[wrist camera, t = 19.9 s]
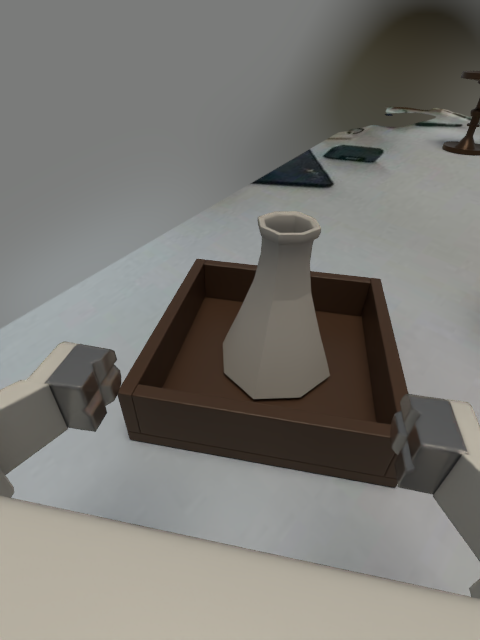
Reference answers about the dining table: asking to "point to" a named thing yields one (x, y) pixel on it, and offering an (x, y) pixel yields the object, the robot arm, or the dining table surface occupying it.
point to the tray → (276, 413)
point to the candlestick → (467, 142)
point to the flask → (278, 316)
